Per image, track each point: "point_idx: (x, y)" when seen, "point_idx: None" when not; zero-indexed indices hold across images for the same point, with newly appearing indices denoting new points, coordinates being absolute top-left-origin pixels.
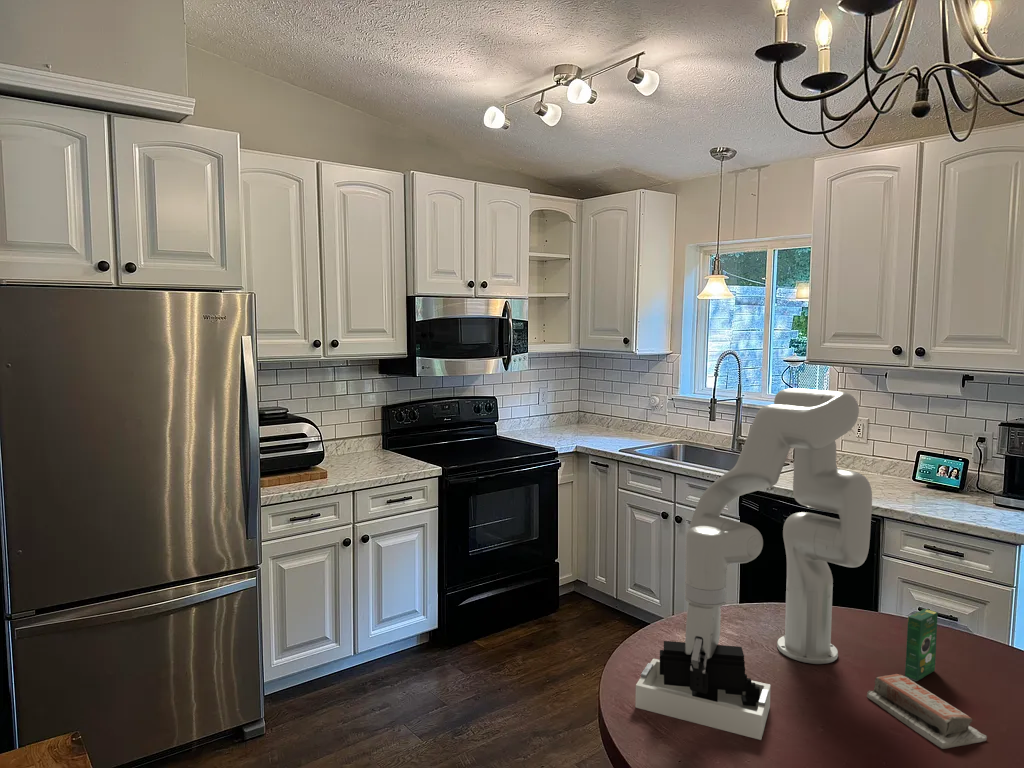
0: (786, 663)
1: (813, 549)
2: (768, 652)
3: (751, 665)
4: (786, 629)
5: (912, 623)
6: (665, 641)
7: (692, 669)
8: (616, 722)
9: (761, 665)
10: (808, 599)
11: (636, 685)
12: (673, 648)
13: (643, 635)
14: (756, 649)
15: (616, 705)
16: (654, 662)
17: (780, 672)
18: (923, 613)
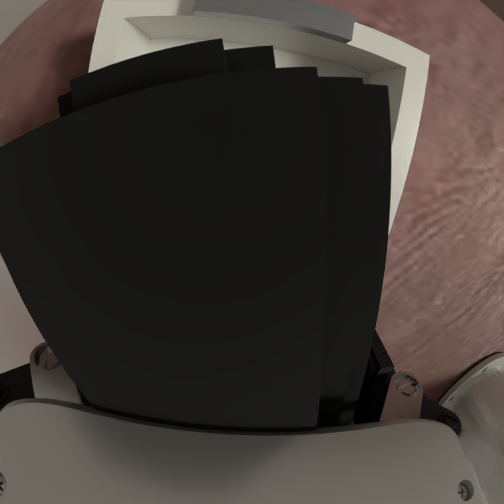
0: (450, 375)
1: None
2: (486, 346)
3: (457, 333)
4: (499, 393)
5: None
6: (291, 103)
7: (36, 361)
8: (46, 17)
9: (453, 347)
10: (491, 475)
11: (104, 1)
12: (66, 285)
13: None
14: (499, 328)
15: None
16: (393, 55)
17: (425, 376)
18: None
